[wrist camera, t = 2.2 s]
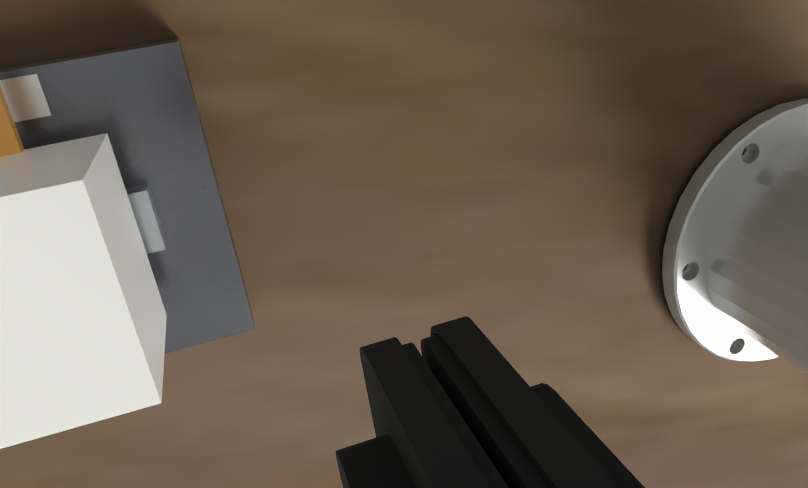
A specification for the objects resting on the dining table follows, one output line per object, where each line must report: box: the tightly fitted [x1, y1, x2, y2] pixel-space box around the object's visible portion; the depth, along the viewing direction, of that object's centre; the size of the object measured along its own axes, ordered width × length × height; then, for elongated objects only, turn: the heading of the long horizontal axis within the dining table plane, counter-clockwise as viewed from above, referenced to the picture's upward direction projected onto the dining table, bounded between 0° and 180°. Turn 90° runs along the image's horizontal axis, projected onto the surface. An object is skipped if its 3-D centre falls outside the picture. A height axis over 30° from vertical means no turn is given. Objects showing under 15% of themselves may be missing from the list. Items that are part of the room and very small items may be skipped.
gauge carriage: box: [0, 86, 167, 449], centre depth 17 cm, size 5×8×5 cm, turn 8°
